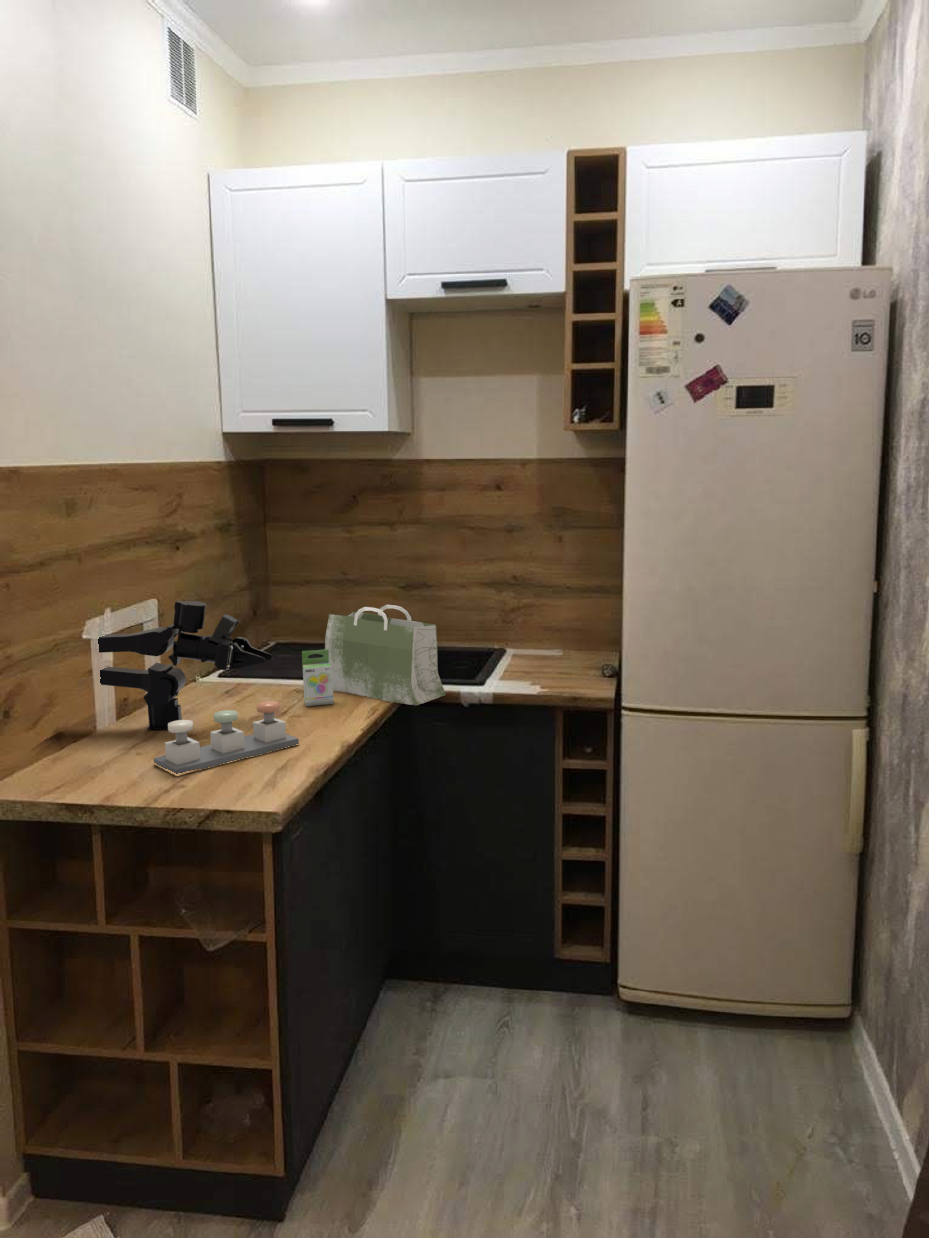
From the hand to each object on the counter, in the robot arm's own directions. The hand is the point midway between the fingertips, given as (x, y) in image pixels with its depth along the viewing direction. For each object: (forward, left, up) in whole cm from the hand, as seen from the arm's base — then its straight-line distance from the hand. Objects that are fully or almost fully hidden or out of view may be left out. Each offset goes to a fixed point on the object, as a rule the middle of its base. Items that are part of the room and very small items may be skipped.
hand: (268, 658), depth 216 cm
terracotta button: (+2, -16, -11) cm, 20 cm away
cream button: (-13, -29, -11) cm, 34 cm away
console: (-6, -23, -15) cm, 28 cm away
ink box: (+9, +17, -16) cm, 25 cm away
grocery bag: (+25, +27, -16) cm, 40 cm away
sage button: (-6, -23, -11) cm, 26 cm away
